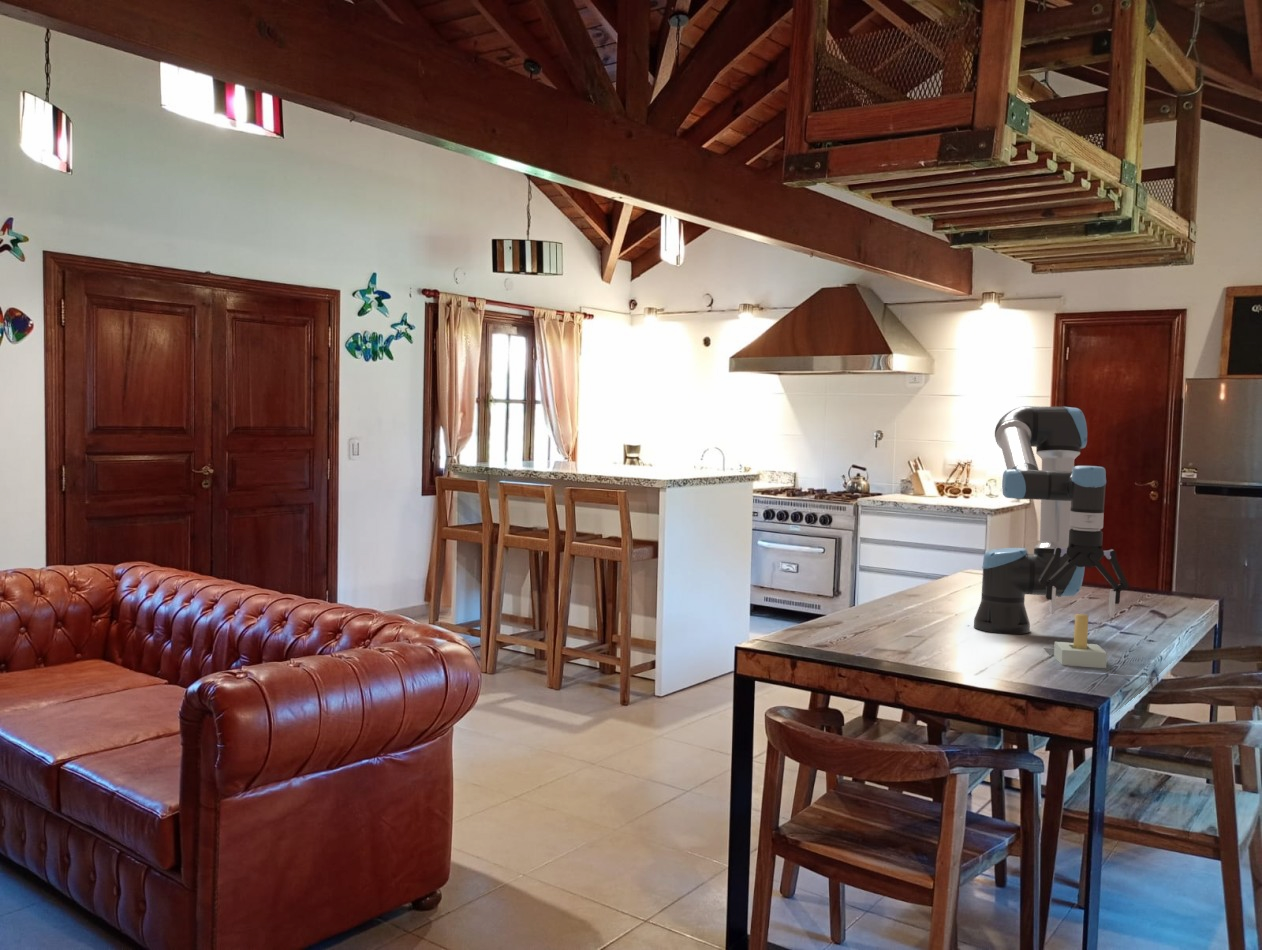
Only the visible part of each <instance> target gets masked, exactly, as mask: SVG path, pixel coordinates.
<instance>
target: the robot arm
mask: <svg viewBox="0 0 1262 950" xmlns="http://www.w3.org/2000/svg"><path fill="white" fill-rule="evenodd" d="M994 429H995V430H994V438H995V443H996V444H997V446H998V447H999V448H1000V449H1001V452H1002V456H1003V458H1004V462H1005V467H1006V470H1005V469H1004V471H1003V474H1002V483H1001V484H1002V487H1001V489H1002V495H1003V496H1004V497H1005V498H1007V499H1015V500H1038V501H1039V500H1040V521H1039V522H1040V523H1039V524H1040V526H1039V529H1040V530H1039V533H1040V534H1039V542H1038V544H1036V545H1035V546H1034V548H1033V553H1028V550H1027V548H1025V547H1003V548H994V549H990V550H987V551H986V552H985V553H984V555H983V561H982V566H981V568H982V578H981V579H982V582H981V598H980V599H981V600H980V603H979V605H978V608H977V611H976V613H975V616H974V619H973V628H975V629H977V630H980V631H983V632H987V633H995V634H1005V635H1022V634H1028V633H1030V629H1031V623H1030V619H1029V615H1028V613H1027V610H1026V605H1025V598H1026V595H1029V596H1030V595H1031V596H1032V595H1033V596H1044V597H1045V598H1046V600H1049V610H1048V611H1049V612H1048V613H1050V614H1051V615H1055V611H1056V610H1055V609H1056V597H1058V598H1061V597H1065V598H1066V597H1075V596H1076V595H1078V593H1079V592H1080V590H1081V588H1082V585H1083V582H1084V577H1085V568H1091V569H1092V568H1093V567H1095V568H1096V569H1097V570H1098V572H1100V574H1101V575H1102V576H1103V577H1104V578H1105V580H1106V581H1107V582H1108V584H1109V585H1110V586H1111V587H1112V588H1113V589H1109V597H1108V598H1109V599H1108V614H1107V615H1108V616H1109V618H1113V619H1115V613H1116V605H1119V604H1120V601H1121V592H1122V590H1128V589H1129V588H1130V585H1129V583H1128V581H1127V579H1126V576H1125V574H1124V572H1123V571H1122V568H1121V566H1120V563H1119V561H1118V559H1117V551H1115V550H1114V549H1112V548H1111V549H1109V550H1103V538H1104V537H1103V536H1104V535H1103V534H1104V532H1103V531H1102V529H1103V528H1104V516H1105V515H1104V513H1105V498H1106V484H1107V477H1106V475H1107V474H1106V473H1107V471H1106V468H1105V467H1104V466H1097V465H1075V459H1077V457H1078V456H1080V455H1081V449H1084V448H1086V446H1087V443H1088V426H1087V421H1086V417H1085V414H1084V413H1083V411H1082V410H1081V409H1080V408H1078V407H1070V406H1065V405H1064V406H1030V405H1026V406H1019V407H1016V408H1014V409H1012V410H1010V411H1008V412H1006V413H1005V414H1004V415H1003V416H1002V417H1001V418H1000V419H999V420H998V422H997V424H996V426H995V428H994ZM1032 447H1034V448H1036V450H1035V451H1036V455H1037V456H1038V457H1039V458H1041V470H1040V469H1039V467H1038V463H1037V460H1036V456H1035V454H1034V450H1033V448H1032ZM1104 556H1105V558H1106V559H1107V560H1109V563H1110V564H1111V567H1112V569H1113V571H1114V573H1115V575H1116V577H1117V579H1118V581H1119V584H1118V582H1116V580H1115V579H1114V578H1113V576H1112V575H1111V574H1110V573H1109V572H1108V570H1107V569H1106V568H1105V567H1104V565H1103V564H1102V563H1101V562H1100V560H1102V558H1103V557H1104Z"/></svg>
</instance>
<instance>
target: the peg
mask: <svg viewBox="0 0 1262 950" xmlns="http://www.w3.org/2000/svg"><path fill="white" fill-rule="evenodd" d="M1073 629H1074V631H1073V643H1074V647H1073V649H1087V644H1088V636H1089V634H1088V632H1089V615H1088V614H1086V613H1085V614H1083V613H1075V614H1074V627H1073Z"/></svg>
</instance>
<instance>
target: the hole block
mask: <svg viewBox="0 0 1262 950" xmlns="http://www.w3.org/2000/svg"><path fill="white" fill-rule="evenodd" d="M1073 647H1074V642H1067V641H1054V648H1053V649H1054V655H1053V657H1054V658H1055V659H1056V660H1057V661H1058V662H1059V664H1060V665H1061V666H1070V667H1083V668H1084V667H1087V668H1096V669H1097V668H1099V669H1107V659H1108V652H1106V651H1105V650H1104V649H1103V648H1102V647H1101V646H1100V645H1098V644H1097V643H1095V644H1094V643H1087V649H1073Z"/></svg>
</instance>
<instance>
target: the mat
mask: <svg viewBox="0 0 1262 950" xmlns="http://www.w3.org/2000/svg"><path fill="white" fill-rule="evenodd" d="M1043 649H1044V651H1045V652H1046V653H1047V654H1048V655H1049V656H1050V655H1051V656H1054V648H1052V647H1051V648H1047V647H1043Z"/></svg>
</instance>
